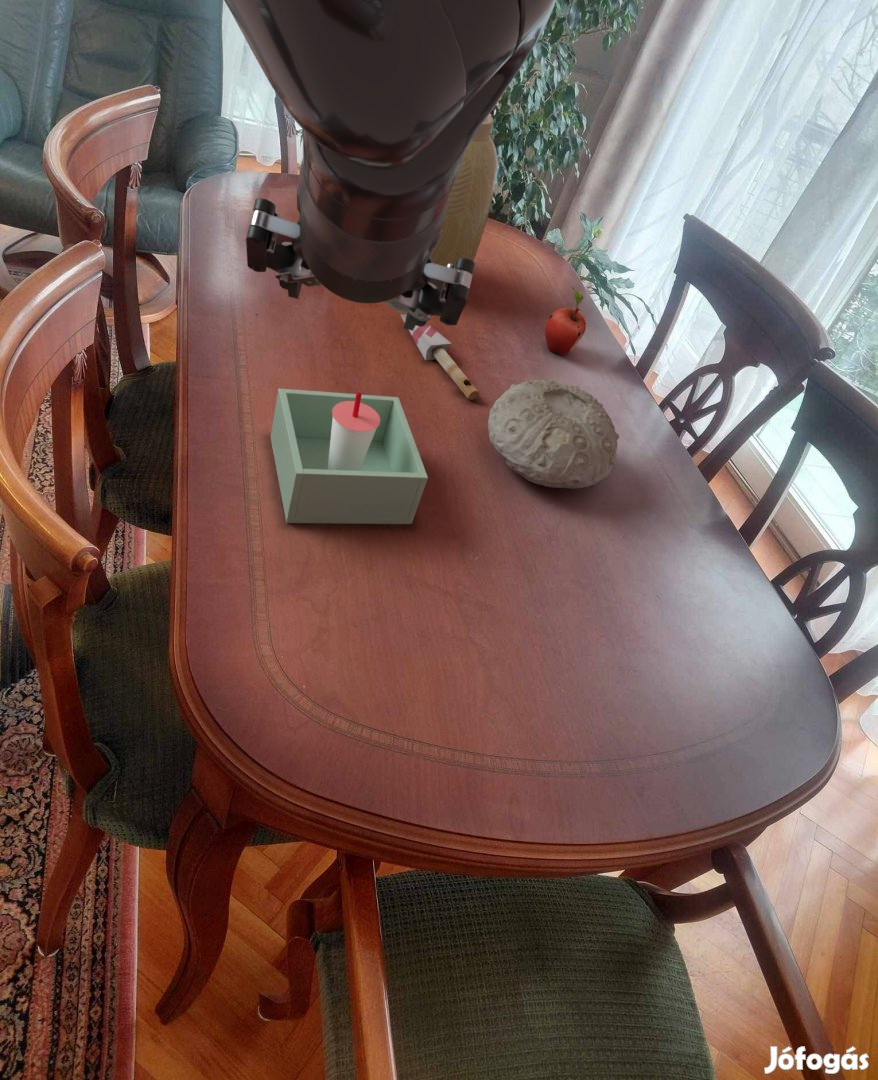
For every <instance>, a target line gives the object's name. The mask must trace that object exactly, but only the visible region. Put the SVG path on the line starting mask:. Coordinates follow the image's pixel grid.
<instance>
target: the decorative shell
mask: <svg viewBox="0 0 878 1080" xmlns="http://www.w3.org/2000/svg"><path fill="white" fill-rule="evenodd" d="M509 387H510V388H508V389H507V390H505V391H504V393H502V394H501V395H500V397H499V398H498V399H496V400H495V402H494V404H493V405H492V407H491V408H490V410H489V416H488V420H487V429H488V438H489V442H490V444H491V445H492V446H493V447H494V449H495V450H496V451H497V452H498V454H499V455H500V457H501V458H502V459H503V460H504V462H505V464H506V465H507V467H508V468H509V469H510V470H511V471H512V472H514V473H516V474H518V475H520V477H522V478H523V479H525V480H527V481H528V482H530V483H533V484H536V485H540V486H544V487H548V488H552V489H553V488H558V489H561V488H564V489H571V490H576V489H581V488H588V487H591V486H594V485H597V484H598V483H599V482H601V481H603V480H604V479H605V478H607V477H608V476H609V475H610V474H611V473H612V469H613V467H614V465H615V461H616V459H617V451H618V445H619V444H618V440H619V439H620V434H618V433H617V432H616V427H615V425H614V423H613V420H612V418H611V417H610V415H609V413H608V412H607V411H606V409H605V408H604V405H603V403H600V402H599V400H598V399H597V397H594V396H593V395H592V394H590V393H589V392H587V391H585V390H584V389H581V388H580V386H579V385H575V386H574V385H572V384H566V383H565V382H559V381H557V380H553V379H545V378H542V379H533V380H529V379H526V380H525V381H522V382H520V383H518V384H515V383H512V384H510V386H509Z"/></svg>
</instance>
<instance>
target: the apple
mask: <svg viewBox="0 0 878 1080" xmlns="http://www.w3.org/2000/svg"><path fill="white" fill-rule="evenodd" d="M570 288H571V289H572V290H573V291H574V299H575V304H576V307H575V309H573V308H570V307H563V308H559V309H557V310H555V311H553V312H552V314H550V316H549V318H548V319H547V321H546V324H545V327H544V328H545V329H544V336H545V337H544V338H545V343H546V348H547V349H548V350H549V351H550V352H553V353H555V354H558V355H561V356H564V355H567V354H569V353H570V352H571V351H572V350H573V349H574V348H575V347H576V346H577V344H578V343H579V341H580V340H581V339H582V338H583V336H584V334H585V333H586V329H587V323H586V322H587V321H586V317H585V316H584V314H582V313H581V312H580V310H581V306H580V305H579V304H580V303H581V302H582V301H583V299H584V296H583V294H582V292H581V291H578V290H577V289H576V288H575V287H573V286H570Z"/></svg>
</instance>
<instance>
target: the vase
mask: <svg viewBox="0 0 878 1080" xmlns="http://www.w3.org/2000/svg"><path fill="white" fill-rule="evenodd" d="M493 124H494V118H493V116H492V115H491V114H489V115H488V117H487V118H486V119H485V121H484V122H483V123H482V125H481V126H480V128H479V129H478V131H477V132H476V134H475V135H474V137H473V139H472V141H471V142H470V144H469V146H468V148H467V149H466V151H465V153H464V155H463V159H462V163H461V166H460V169H459V171H458V174H457V177H456V179H455V181H454V183H453V186H452V188H451V191H450V193H449V202H448V208H447V213H446V216H445V219H444V222H443V225H442V230H441V236H440V238H439V240H438V242H437V244H436V246H435V247H434V248H433V249H432V251H431V253H430V256H431V258H432V263H435V264H438V265H442V266H446V267H447V264H449V263H451V264H454V265H455V262H456V259H458V258H467V259H469V260H472V261H473V262H475V261H474V260H475V258H476V255H477V254H478V250H479V247H480V245H481V242H482V238H483V235H484V232H485V228H486V225H487V222H488V218H489V214H490V210H491V206H492V202H493V197H494V194H495V188H496V183H497V176H498V166H499V164H498V161H499V160H498V154H497V149H496V148H497V147H496V145H495V142H494V140H493V138H492V136H491V130H492V127H493Z"/></svg>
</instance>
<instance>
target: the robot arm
mask: <svg viewBox="0 0 878 1080" xmlns="http://www.w3.org/2000/svg"><path fill="white" fill-rule="evenodd" d="M223 1H224V2H225V4H226V6H227V8H228V10H229V11H230V13H231V14H232V17H233V18H234V19H233V20H235V23H236V24H237V26H238V28H239V30H240V31H241V33H242V35H243V38H244V39H245V40H246V43H247V44H248V46H249V48H250V50H251V52H252V54H253V55H254V57H255V59H256V61H257V62H258V65H259V66H260V68H261V70H262V72H263V74H264V75H265V77H266V79H267V81H268V83H269V84H270V86H271V88H272V90H274V92H275V94H276V95H277V97H278V99H279V100H280V102H281V103H282V105H283V106H284V108H285V109H286V111H287V112H288V113H289V114H290V116H291V118H292V119H293V120H294V122H296V123H297V124H298V126H299V127H300V128H301V129H302V158H301V163H300V166H299V167H300V168H299V174H298V185H297V188H296V210H297V211H298V214H299V215H298V217H299V219H298V220H297V222H294V221H292V220H288V219H285V218H283V214H282V213H280V212H278V211H277V212H276V205H275V203H274V202H272V201H271V200H268V199H267V198H261V197H258V198H255V199H254V200H255V201H254V204H253V208H252V212H251V217H250V220H249V225H248V229H247V232H246V233H247V234H246V237H245V245H246V262H247V263H246V264H247V267H248V268H249V269H250V270H252V271H254V272H256V273H266V271H267V269H270V270H272V271H274V272H275V276H274V277H275V279H277V280H278V283H279V287H280V288H281V289H283V290H287V296H288V297H289V298H292V299H296V300H299V298H300V294H301V290H302V286H303V285H304V286H306V287H308V288H313V287H319V286H323V287H324V288H326V289H327V291H329V292H330V293H333V294H334V295H336V296H337V297H339V298H342V299H344V300H347V301H349V302H354V303H359V304H378V303H379V304H380V303H385V304H386V305H388V306H389V307H390V308H391V309H393V310H394V311H395V312H397V313H406V314H407V316H406V320H405V322H404V325H403V329H405V330H408V331H409V330H412V331H413V330H414V328H415V325H416V326H420V327H422V326H425V324H426V323H427V322H429V321H430V320H431V317H432V316H436V317H437V316H438V317H439V322H440V323H443V324H444V325H446V326H456V325H457V324H458V323H459V320H460V318H461V315H462V313H463V311H464V309H465V307H466V304H467V301H468V298H469V293H470V288H471V285H472V280H473V276H474V271H475V267H476V263H475V261H472V260H469V259H467V258H458V259H456V262H455V265H454V264H451V263H449V264H447V267H446V266H442V265H438V264H435V263H432V258H431V256H430V253H431V251H432V249H433V248H434V247H435V246H436V244H437V242H438V240H439V238H440V236H441V230H442V225H443V222H444V219H445V216H446V213H447V208H448V202H449V193H450V191H451V188H452V186H453V183H454V181H455V179H456V177H457V174H458V171H459V169H460V166H461V163H462V159H463V155H464V153H465V151H466V149H467V148H468V146H469V144H470V142H471V141H472V139H473V137H474V135H475V134H476V132H477V131H478V129H479V128H480V126H481V125H482V123H483V122H484V121H485V119H486V118H487V117H488V115H491V113H492V111H493V110H494V108H495V107H496V105H497V104H498V102H500V99H501V98H502V96H503V95H504V94H505V92H506V90H508V88H509V86H510V84H511V83H512V82H513V80H514V78H515V77H516V75H517V74H518V73H519V71H520V69H521V68H522V66H523V65H524V64H525V62H526V60H527V58H528V57H529V55H530V54H531V52H532V50H533V49H534V48H535V46H536V44H537V42H538V41H539V38H540V37H541V35H542V34H543V32H544V30H545V28H546V26H547V24H548V22H549V19H550V17H551V15H552V13H553V11H554V8H555V5H556V3H557V0H223Z"/></svg>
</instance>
